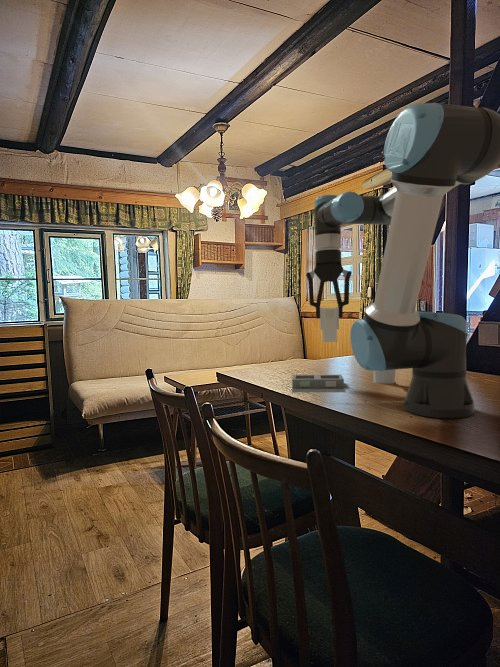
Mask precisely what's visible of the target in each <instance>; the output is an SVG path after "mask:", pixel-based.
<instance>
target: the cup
mask: <svg viewBox="0 0 500 667" xmlns="http://www.w3.org/2000/svg"><path fill="white" fill-rule="evenodd" d="M396 370H397V369H395V370H384V371H372V376H373V377H372V379H373V383H375V384H380V385H381V384H383V385H391V384H395V380H396Z"/></svg>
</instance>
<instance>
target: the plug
mask: <svg viewBox="0 0 500 667" xmlns="http://www.w3.org/2000/svg"><path fill="white" fill-rule="evenodd" d="M322 308H323V330H321V332H322V342H323V343H336V342H338V329H337V313H336V308H335V307H322Z"/></svg>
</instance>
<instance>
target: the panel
mask: <svg viewBox="0 0 500 667" xmlns="http://www.w3.org/2000/svg"><path fill="white" fill-rule="evenodd" d="M291 378H292V379H291V382H292V384H291V388H292V389H291V393H346V389H345V383H344V382H345V379H344V377H343V375H342V374H293V375H292V377H291Z"/></svg>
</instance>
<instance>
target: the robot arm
mask: <svg viewBox="0 0 500 667" xmlns="http://www.w3.org/2000/svg"><path fill="white" fill-rule="evenodd" d="M383 147H384V148H383V157H384V159H383V163H384V165H385V167H386V169H387V171H389V172H391V178H390V182H391V183H392V185H393V186H394V187H393V188H391V189H390V190H389V191H387V192H386V193H384V194H382V195H360V194H358V193H357V192H355V191H351V190H350V191H346V192H342V193H341V194H338V195H337V194H323V195H320V196H317V197H316V198H315V200H314V208H313V213H314V248H315V250H316V252H315V253H314V255H315V256H314V257H315V266H314V268H313V270H311V271H309V272H306V274H305V276H306V279H307V281H308V282H307V283H308V290H309V291H308V296H309V305H310V306H313V307H315V318H316V319H319V330H321V331H322V330H323V308H324V307H321V303H322V299H323V298H322V297H323V291H324V286H325V283H327V282H328V283H329V282H330V283H332V286H333V289H334V294H335V298H336V303H337V306H335V307H334V308H336V313H337V330H340V318H341V319H342V318H343V316H344V314H343V312H344V311H343V307H345V306H347V305H349V304H350V303H349V302H350V279H351V277H352V271H351V270H346V269H344V266H343V265H342V251H341V250H340V249H341V248H342V229H341V228H342V226H343V225H384V226H385V225H387V226H389V228H388V233H387V237H386V238H387V239H386V241H385V242H386V243H385V247H384V253H383V258H382V262H381V268H380V272H379V279H378V282H377V286H376V291H375V298H374V302H372V303H371V304H369V305H367V306H366V308H365V312H364V316H363V318H361V319H357V320H355V321H354V322H353V323H352V324H351V326H350V327H351V329H350V333H349V334H350V339H349V340H350V345H351V350H352V353H353V356H354V359H355V361H356V362H357V363H358V365H359V366H360V367H361V368H362V369H364V370H366V371H369V372H371V371H372V372H373V371H384V370H395V369H396V370H405V369H406V370H407V369H409V370H410V369H412V370H411V371H412V375H411V376H412V377H411V381H410V383H409V386H408V389H407V392H406V395H405V397H404V409H405V410H406V411H407V412H408V413H411V414H414V415H418V416H423V417H427V418H436V419H462V418H467V417H471V416H473V415H474V414H475V401H474V398H473V396H472V393H471V389H470V387H469V383H468V381H467V346H468V344H467V343H468V342H467V341H468V340H467V338H468V335H469V334H468V331H467V321H466V319H465V317H464V316H462V315H459V314H455V313H445V312H444V313H443V312H433V311H417V310H416V306H417V303H418V299H419V294H420V290H421V288H422V283H423V278H424V275H425V272H426V270H425V269H426V267H427V263H428V260H429V255H430V251H431V248H432V247H431V246H432V243H433V239H434V234H435V231H436V227H437V222H438V219H439V214H440V211H441V206H442V203H443V199H444V196H445V195H446V194H447V193H448V192H449V191H451V190H452V189H454V188H455V187H457V186H459V185H461V184H462V185H470V184H472V183H475V182H476V181H478V180H481V179H482V178H484V177H486V176H487V175H489V174H490V173H492V172H493V171H494V170H495V169H497V168H498V166H499V165H500V114H499V113H498V112H497V111H495V110H493V109H490V108H487V107H480V106H476V107H475V106H465V105H456V104H455V105H454V104H447V103H437V102H432V103H431V102H429V103H428V102H426V103H425V102H423V103H422V102H421V103H413V104H411V105H409V106H407V107H406V108H404V109H403V110H402V111H401V112H400V113H399V114H398V116H397V117H395V120H394V121H393V123H392V124H391V126H390V128H389V131H388V132H387V136H386V138H385V143H384V146H383ZM341 274H342V277H343V278H344V285H343V286H344V287H343V290H344V291H343V300H342V295H341V292H340V288H339V282H338V279H339V277H340V276H341ZM315 275H316V276H317V278H318V279H319V280H320V281H319V285H318V292H317V297H316V301H315V300H314V295H315V294H314V281H313V279H314V278H315ZM396 370H395V371H396Z"/></svg>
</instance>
